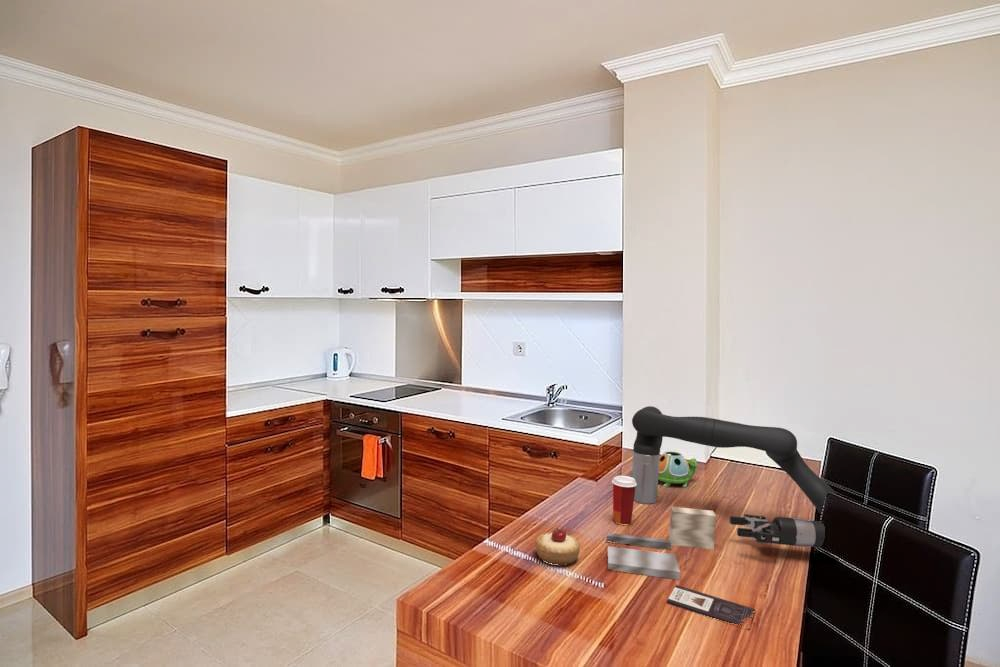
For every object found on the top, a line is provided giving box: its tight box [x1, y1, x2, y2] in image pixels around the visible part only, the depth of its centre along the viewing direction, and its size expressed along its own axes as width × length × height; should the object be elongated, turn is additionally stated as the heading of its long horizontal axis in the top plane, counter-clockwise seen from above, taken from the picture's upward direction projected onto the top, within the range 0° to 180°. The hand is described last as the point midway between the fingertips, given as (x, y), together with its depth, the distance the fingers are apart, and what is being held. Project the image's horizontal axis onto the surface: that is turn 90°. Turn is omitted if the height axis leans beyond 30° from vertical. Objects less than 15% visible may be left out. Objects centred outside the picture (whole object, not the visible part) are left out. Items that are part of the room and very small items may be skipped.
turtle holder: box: [658, 450, 699, 489], centre depth 216 cm, size 12×18×12 cm
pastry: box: [535, 527, 581, 565], centre depth 149 cm, size 12×12×9 cm
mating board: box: [606, 532, 681, 581], centre depth 151 cm, size 18×19×2 cm
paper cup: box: [611, 475, 637, 525], centre depth 175 cm, size 8×8×14 cm
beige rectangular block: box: [668, 506, 717, 550], centre depth 161 cm, size 12×4×10 cm, turn 80°
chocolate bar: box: [666, 584, 756, 626], centre depth 128 cm, size 9×1×18 cm
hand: (733, 525), depth 159 cm, fingers open, 8 cm apart
